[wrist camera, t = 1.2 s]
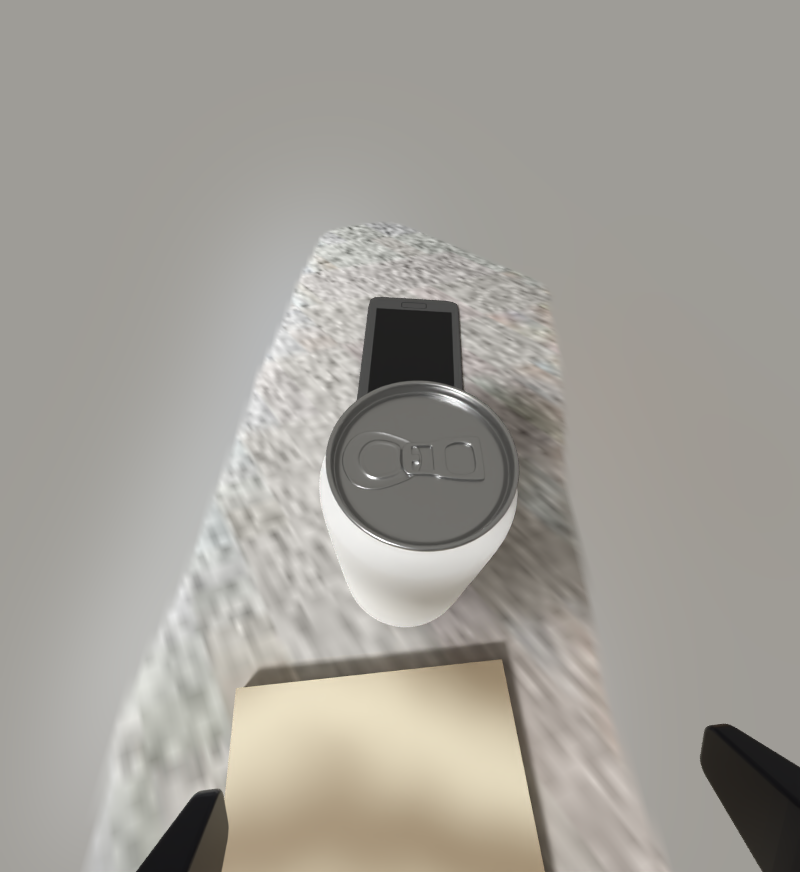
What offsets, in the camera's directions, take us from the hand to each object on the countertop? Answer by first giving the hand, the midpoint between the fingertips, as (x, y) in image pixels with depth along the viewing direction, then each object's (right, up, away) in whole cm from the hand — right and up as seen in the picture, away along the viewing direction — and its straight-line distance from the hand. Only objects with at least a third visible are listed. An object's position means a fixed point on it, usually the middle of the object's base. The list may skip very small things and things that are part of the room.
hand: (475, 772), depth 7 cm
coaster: (-2, -10, +8) cm, 13 cm away
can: (-1, -1, +15) cm, 15 cm away
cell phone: (-1, +11, +23) cm, 25 cm away
